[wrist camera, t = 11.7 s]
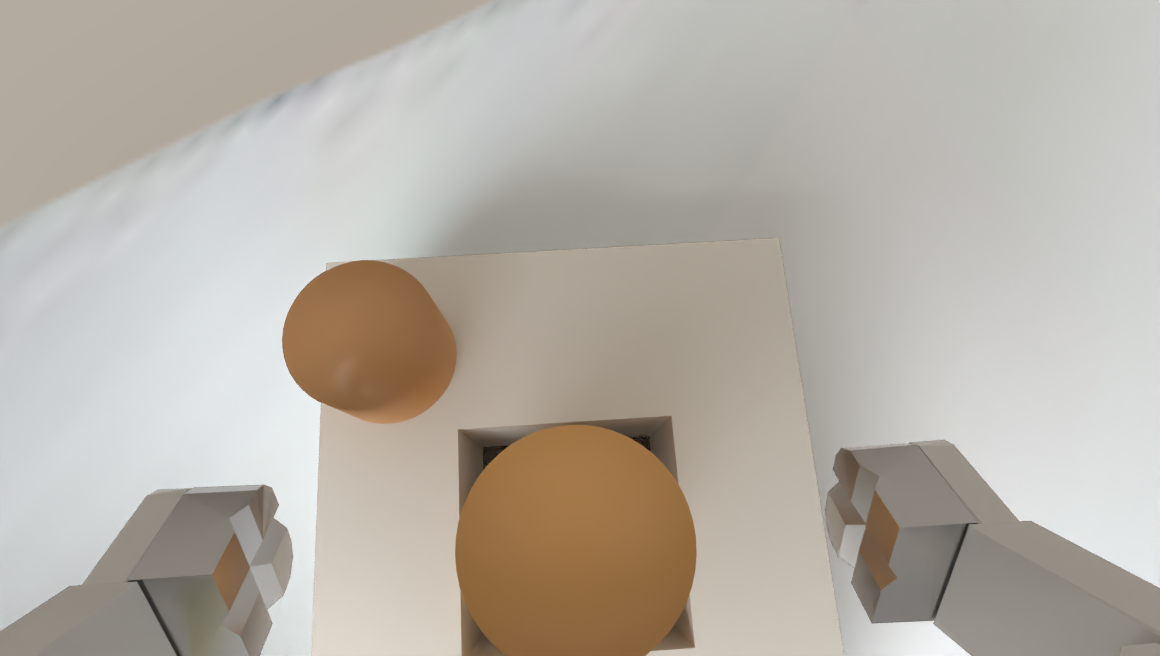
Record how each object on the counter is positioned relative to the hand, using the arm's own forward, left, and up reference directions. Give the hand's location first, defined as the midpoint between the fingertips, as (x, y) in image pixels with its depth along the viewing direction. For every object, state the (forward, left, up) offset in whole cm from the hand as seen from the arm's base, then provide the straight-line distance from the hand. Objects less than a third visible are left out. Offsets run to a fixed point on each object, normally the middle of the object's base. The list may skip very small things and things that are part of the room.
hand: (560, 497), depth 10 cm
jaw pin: (0, -1, -8) cm, 8 cm away
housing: (0, -1, -8) cm, 8 cm away
